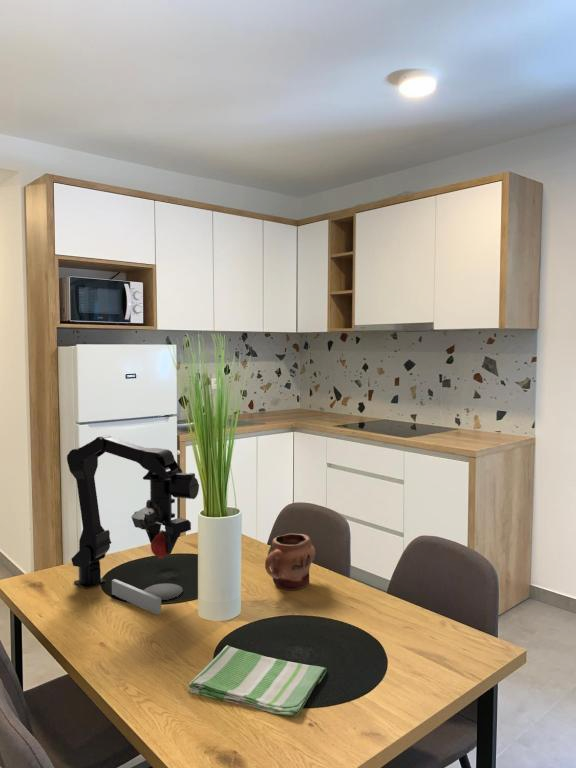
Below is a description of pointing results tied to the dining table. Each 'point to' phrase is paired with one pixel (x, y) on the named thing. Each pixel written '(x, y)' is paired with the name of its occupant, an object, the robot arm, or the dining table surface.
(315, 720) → the dining table surface
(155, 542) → the onion
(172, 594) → the rubber mat
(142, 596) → the low wall
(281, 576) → the brown clay mug
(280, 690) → the dish towel
